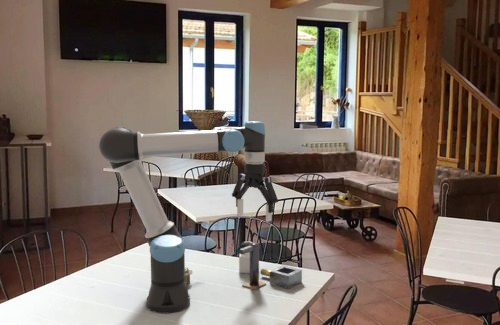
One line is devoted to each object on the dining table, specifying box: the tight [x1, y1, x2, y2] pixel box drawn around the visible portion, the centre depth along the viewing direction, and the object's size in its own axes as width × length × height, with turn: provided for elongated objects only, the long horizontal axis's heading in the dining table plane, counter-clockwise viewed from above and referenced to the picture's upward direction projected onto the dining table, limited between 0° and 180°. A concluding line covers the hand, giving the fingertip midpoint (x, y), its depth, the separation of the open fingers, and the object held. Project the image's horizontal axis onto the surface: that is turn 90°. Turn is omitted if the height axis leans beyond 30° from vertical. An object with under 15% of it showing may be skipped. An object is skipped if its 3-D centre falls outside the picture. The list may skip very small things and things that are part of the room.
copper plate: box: [241, 281, 267, 291], centre depth 196 cm, size 7×6×1 cm
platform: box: [185, 267, 193, 285], centre depth 196 cm, size 12×18×7 cm, turn 109°
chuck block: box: [260, 264, 303, 290], centre depth 200 cm, size 9×16×5 cm, turn 52°
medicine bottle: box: [238, 241, 254, 274], centre depth 212 cm, size 7×7×12 cm
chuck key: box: [238, 242, 260, 286], centre depth 192 cm, size 10×4×16 cm, turn 142°
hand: (254, 218), depth 192 cm, fingers open, 13 cm apart
